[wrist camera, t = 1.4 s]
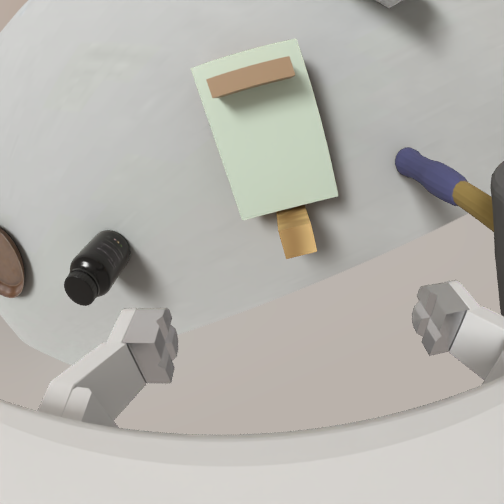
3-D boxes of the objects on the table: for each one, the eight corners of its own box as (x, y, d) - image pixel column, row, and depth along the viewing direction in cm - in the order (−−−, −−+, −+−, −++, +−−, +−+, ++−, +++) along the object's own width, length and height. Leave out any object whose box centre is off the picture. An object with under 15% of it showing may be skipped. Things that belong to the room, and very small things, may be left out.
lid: (295, 40, 27) (300, 30, 22) (336, 193, 35) (346, 208, 31) (192, 69, 29) (181, 65, 24) (242, 217, 37) (239, 235, 32)
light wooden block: (301, 196, 40) (310, 222, 32) (307, 220, 42) (317, 251, 34) (275, 203, 41) (278, 231, 33) (282, 226, 43) (286, 259, 35)
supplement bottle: (117, 273, 47) (86, 319, 37) (88, 246, 45) (50, 287, 35) (139, 250, 45) (108, 296, 35) (108, 220, 43) (69, 259, 32)
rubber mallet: (436, 186, 38) (581, 312, 12) (396, 208, 40) (523, 362, 14) (408, 108, 33) (600, 168, 7) (363, 129, 35) (539, 220, 9)
